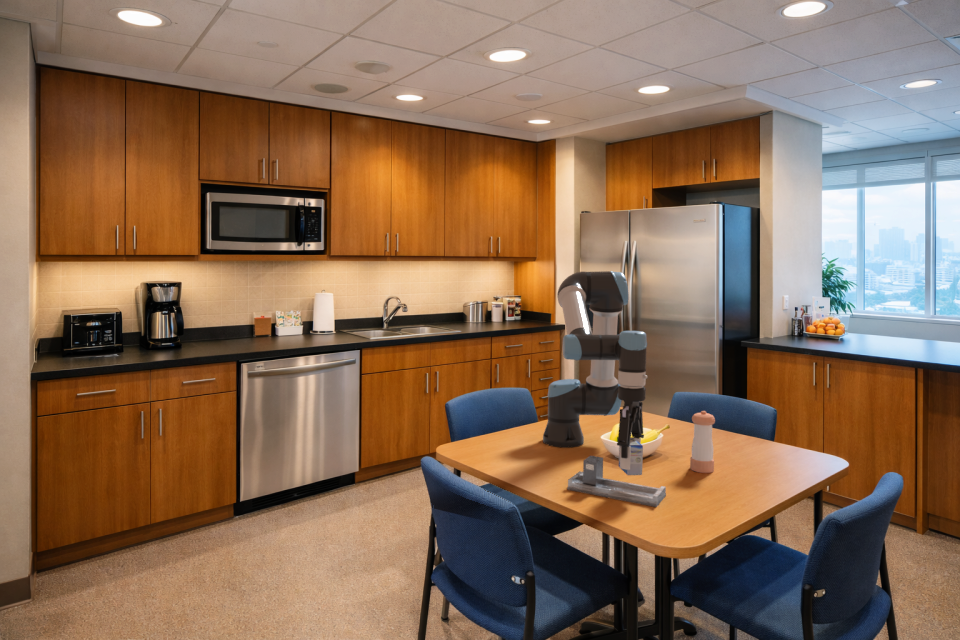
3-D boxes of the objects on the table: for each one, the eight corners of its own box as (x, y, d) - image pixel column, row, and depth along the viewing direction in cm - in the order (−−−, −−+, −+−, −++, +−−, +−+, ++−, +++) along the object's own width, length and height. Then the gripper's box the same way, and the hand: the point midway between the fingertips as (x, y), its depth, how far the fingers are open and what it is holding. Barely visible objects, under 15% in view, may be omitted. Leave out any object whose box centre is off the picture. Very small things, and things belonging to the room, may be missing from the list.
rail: (567, 489, 179) (567, 460, 179) (580, 479, 188) (580, 451, 187) (656, 507, 166) (657, 475, 165) (665, 495, 175) (666, 465, 174)
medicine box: (618, 466, 178) (618, 437, 177) (633, 466, 178) (633, 437, 178) (627, 475, 170) (627, 445, 170) (642, 475, 171) (643, 444, 170)
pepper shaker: (718, 472, 195) (720, 413, 194) (697, 473, 194) (699, 414, 193) (706, 465, 202) (708, 408, 201) (685, 466, 201) (687, 408, 200)
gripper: (633, 393, 161) (631, 477, 163) (655, 381, 180) (653, 456, 182) (606, 390, 165) (604, 472, 167) (630, 379, 184) (628, 453, 185)
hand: (630, 464), depth 174 cm, fingers closed on medicine box, 9 cm apart
